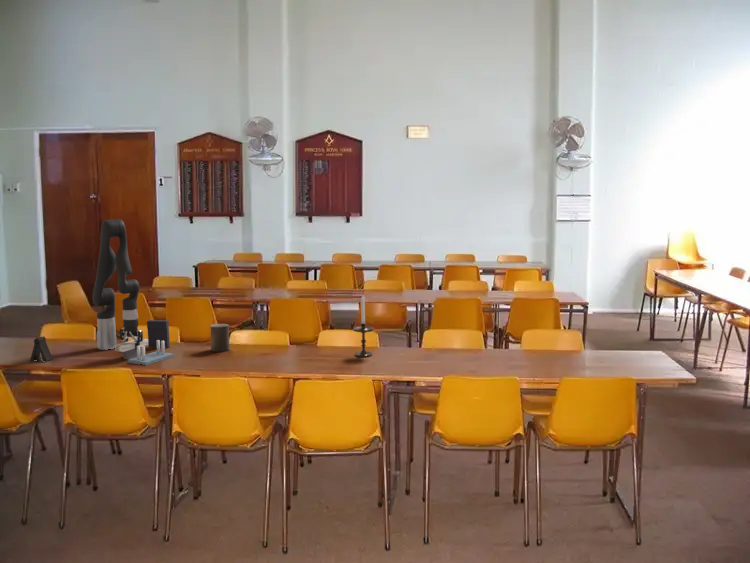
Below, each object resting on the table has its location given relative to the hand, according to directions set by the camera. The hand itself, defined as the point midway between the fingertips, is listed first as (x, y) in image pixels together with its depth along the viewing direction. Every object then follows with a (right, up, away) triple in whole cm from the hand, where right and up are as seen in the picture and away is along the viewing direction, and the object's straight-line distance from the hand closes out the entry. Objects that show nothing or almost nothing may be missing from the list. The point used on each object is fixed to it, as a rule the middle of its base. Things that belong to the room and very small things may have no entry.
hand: (132, 349), depth 381 cm
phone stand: (-45, -6, -5) cm, 46 cm away
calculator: (+8, -1, +22) cm, 24 cm away
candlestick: (+121, -3, +1) cm, 121 cm away
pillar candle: (+43, -2, +15) cm, 45 cm away
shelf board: (0, +1, 0) cm, 1 cm away
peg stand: (+12, -5, -5) cm, 14 cm away
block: (0, -4, +1) cm, 4 cm away
